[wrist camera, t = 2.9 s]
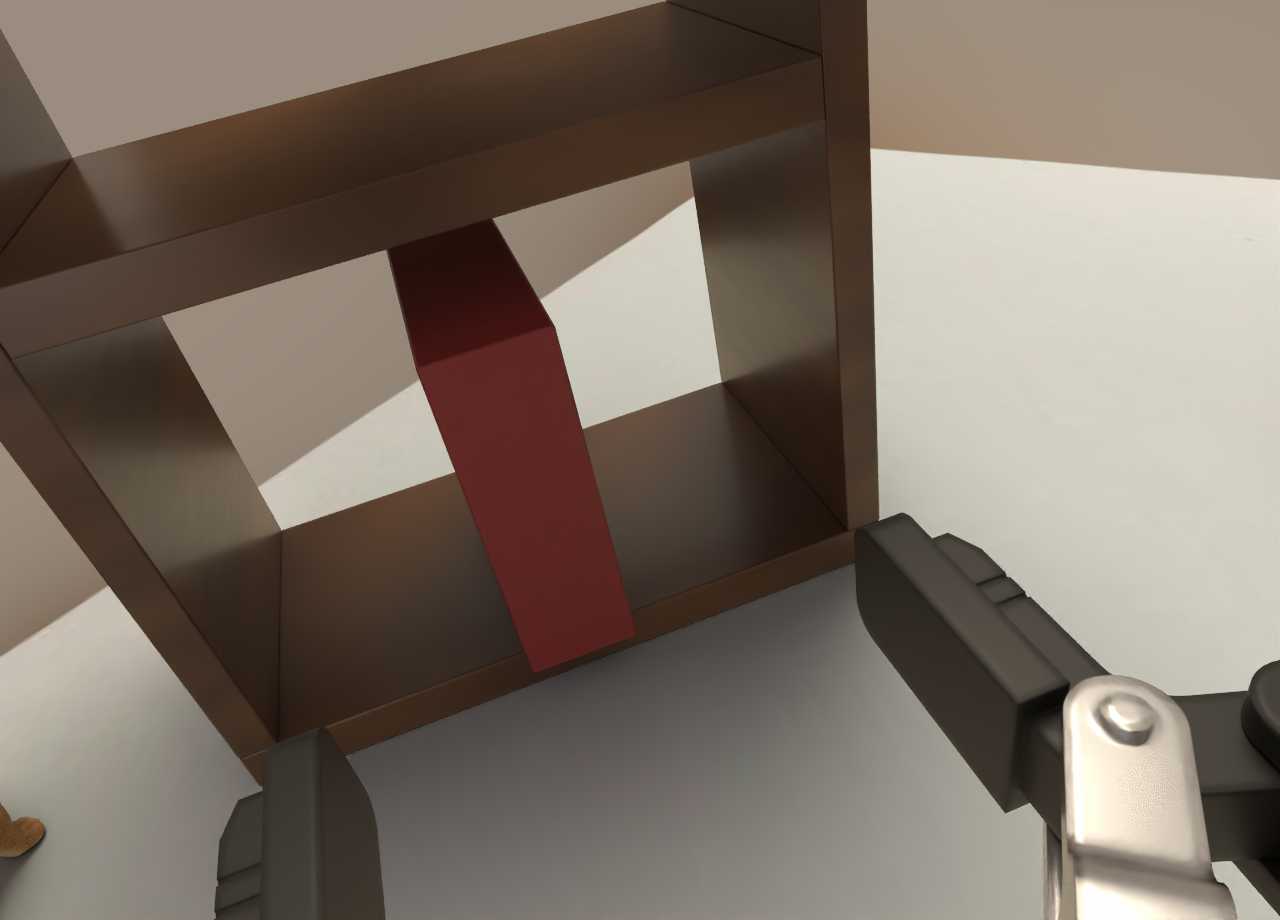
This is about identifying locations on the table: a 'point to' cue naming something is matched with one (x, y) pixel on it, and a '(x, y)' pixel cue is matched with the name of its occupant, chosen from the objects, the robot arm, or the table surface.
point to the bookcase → (409, 211)
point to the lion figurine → (18, 834)
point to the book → (513, 439)
